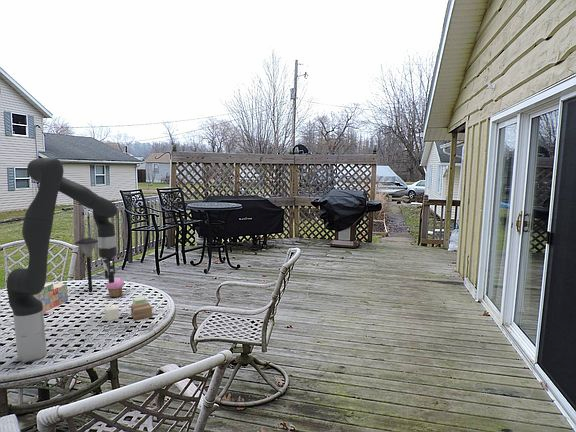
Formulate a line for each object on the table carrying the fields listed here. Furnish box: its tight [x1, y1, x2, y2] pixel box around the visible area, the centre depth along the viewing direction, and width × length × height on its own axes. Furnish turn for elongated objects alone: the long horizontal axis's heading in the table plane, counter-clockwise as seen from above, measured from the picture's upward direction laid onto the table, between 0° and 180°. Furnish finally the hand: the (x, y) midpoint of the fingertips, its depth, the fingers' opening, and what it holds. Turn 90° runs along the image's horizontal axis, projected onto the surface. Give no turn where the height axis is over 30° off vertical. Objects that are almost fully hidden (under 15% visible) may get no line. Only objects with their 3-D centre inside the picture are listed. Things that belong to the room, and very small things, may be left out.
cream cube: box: [104, 305, 120, 322], centre depth 184 cm, size 5×5×5 cm
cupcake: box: [105, 277, 125, 298], centre depth 214 cm, size 9×9×10 cm
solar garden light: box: [74, 237, 98, 293], centre depth 221 cm, size 12×12×30 cm
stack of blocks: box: [33, 282, 69, 313], centre depth 198 cm, size 21×6×12 cm, turn 169°
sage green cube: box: [132, 296, 147, 305], centre depth 197 cm, size 5×5×5 cm
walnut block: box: [130, 301, 153, 321], centre depth 187 cm, size 8×8×5 cm
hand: (109, 280), depth 182 cm, fingers open, 8 cm apart
